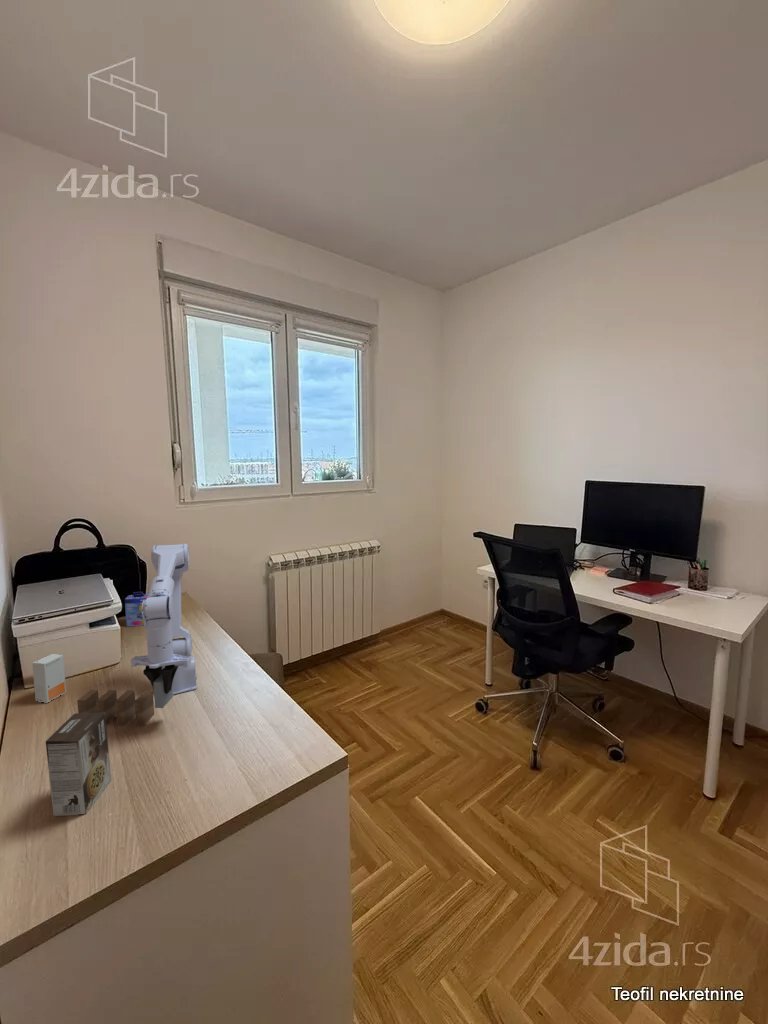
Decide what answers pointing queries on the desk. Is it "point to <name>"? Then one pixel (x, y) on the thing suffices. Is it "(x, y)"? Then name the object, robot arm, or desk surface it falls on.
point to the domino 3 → (125, 707)
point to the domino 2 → (107, 705)
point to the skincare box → (49, 678)
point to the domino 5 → (161, 693)
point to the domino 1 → (88, 702)
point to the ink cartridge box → (134, 609)
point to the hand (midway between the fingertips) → (163, 691)
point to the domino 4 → (144, 707)
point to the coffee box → (78, 763)
